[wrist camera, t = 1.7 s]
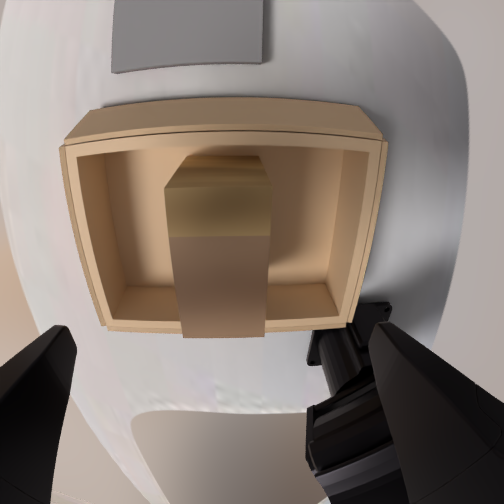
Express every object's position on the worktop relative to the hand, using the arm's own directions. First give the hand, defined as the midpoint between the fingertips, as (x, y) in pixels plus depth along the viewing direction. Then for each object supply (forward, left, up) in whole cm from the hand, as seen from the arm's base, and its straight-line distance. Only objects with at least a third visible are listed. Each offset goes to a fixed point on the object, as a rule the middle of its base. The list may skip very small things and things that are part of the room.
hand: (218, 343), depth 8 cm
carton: (-1, 0, -11) cm, 11 cm away
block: (-1, 0, -11) cm, 11 cm away
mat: (+12, +2, -11) cm, 17 cm away
